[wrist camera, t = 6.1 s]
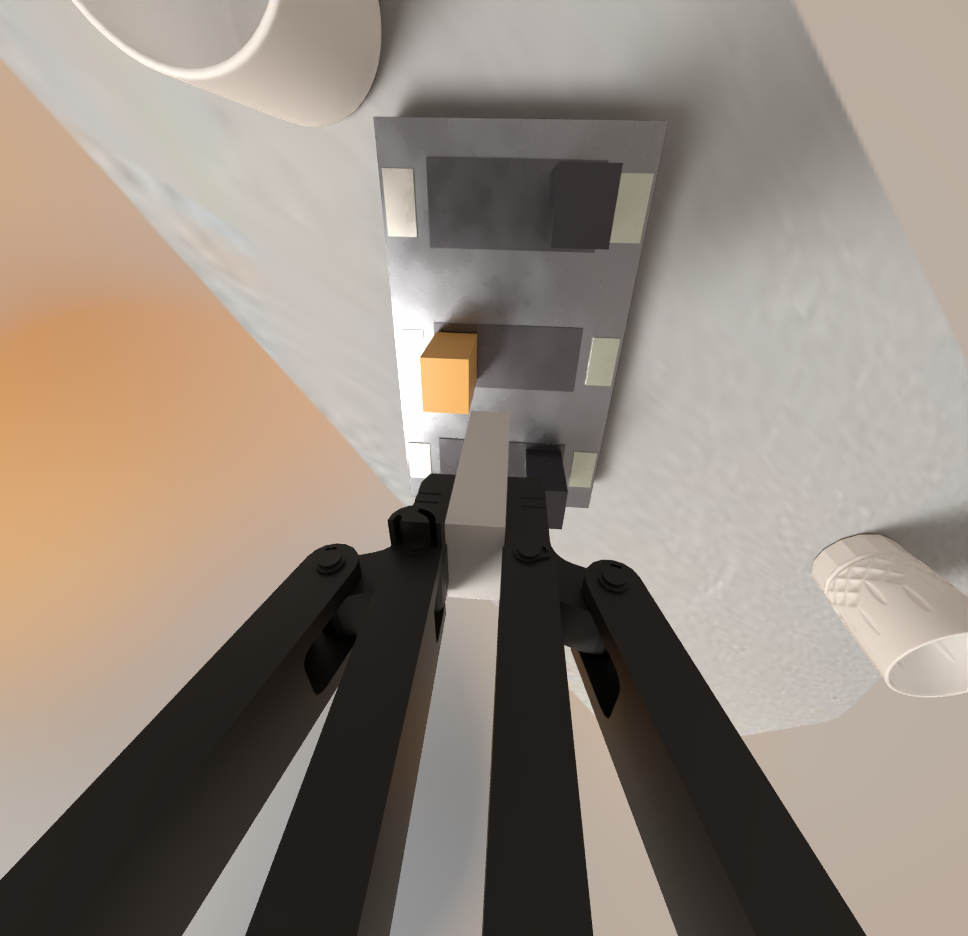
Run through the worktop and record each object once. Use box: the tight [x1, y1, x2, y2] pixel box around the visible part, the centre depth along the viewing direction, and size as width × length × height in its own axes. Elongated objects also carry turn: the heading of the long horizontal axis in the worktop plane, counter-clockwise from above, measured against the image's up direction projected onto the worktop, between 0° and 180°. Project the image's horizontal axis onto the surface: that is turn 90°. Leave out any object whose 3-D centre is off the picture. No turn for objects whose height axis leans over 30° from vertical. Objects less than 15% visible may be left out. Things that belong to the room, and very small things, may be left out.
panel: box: [373, 117, 668, 529], centre depth 24 cm, size 23×14×8 cm, turn 179°
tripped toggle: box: [419, 332, 477, 414], centre depth 23 cm, size 3×2×5 cm
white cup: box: [811, 534, 968, 697], centre depth 32 cm, size 8×8×10 cm
